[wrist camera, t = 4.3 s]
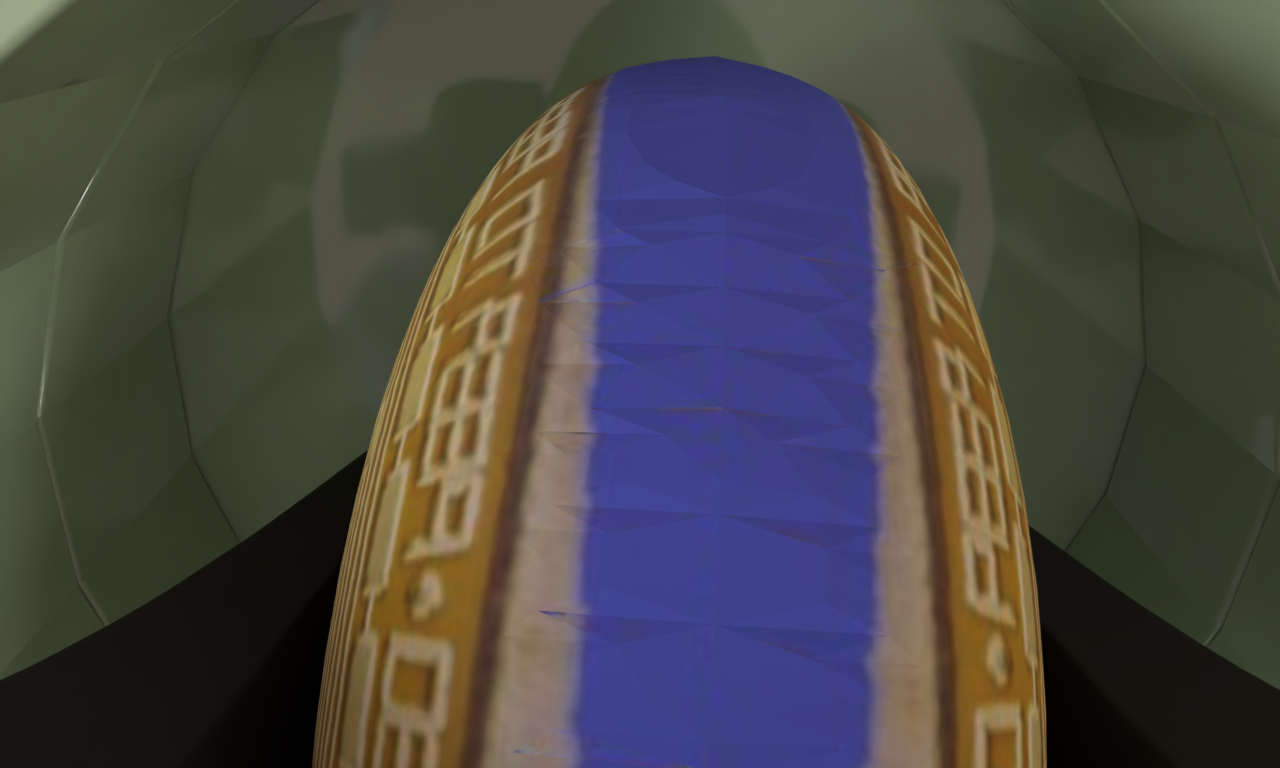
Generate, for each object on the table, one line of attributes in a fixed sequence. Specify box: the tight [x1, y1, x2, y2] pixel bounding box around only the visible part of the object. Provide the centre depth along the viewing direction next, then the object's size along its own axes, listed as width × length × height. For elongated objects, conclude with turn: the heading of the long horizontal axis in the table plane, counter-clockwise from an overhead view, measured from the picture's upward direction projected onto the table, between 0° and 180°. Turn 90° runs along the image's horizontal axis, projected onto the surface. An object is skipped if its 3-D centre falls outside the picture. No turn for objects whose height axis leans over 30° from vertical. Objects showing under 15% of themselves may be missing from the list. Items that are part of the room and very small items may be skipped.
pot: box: [0, 0, 1280, 690], centre depth 10 cm, size 14×14×6 cm
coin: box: [312, 56, 1047, 768], centre depth 8 cm, size 10×6×10 cm, turn 15°
